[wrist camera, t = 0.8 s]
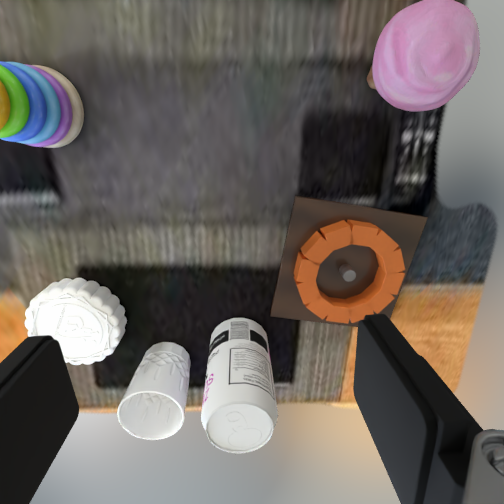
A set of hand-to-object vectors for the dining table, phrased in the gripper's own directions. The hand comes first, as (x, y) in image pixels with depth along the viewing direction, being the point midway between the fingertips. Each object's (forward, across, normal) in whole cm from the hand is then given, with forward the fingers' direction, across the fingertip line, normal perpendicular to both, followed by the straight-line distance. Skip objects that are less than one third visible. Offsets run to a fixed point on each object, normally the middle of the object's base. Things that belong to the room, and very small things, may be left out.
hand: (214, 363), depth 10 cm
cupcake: (+31, -18, -12) cm, 38 cm away
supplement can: (+32, +1, +21) cm, 38 cm away
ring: (+29, -14, +11) cm, 34 cm away
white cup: (+32, +11, +24) cm, 41 cm away
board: (+31, -14, +11) cm, 36 cm away
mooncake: (+31, +22, +16) cm, 41 cm away
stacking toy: (+31, +19, -10) cm, 38 cm away
